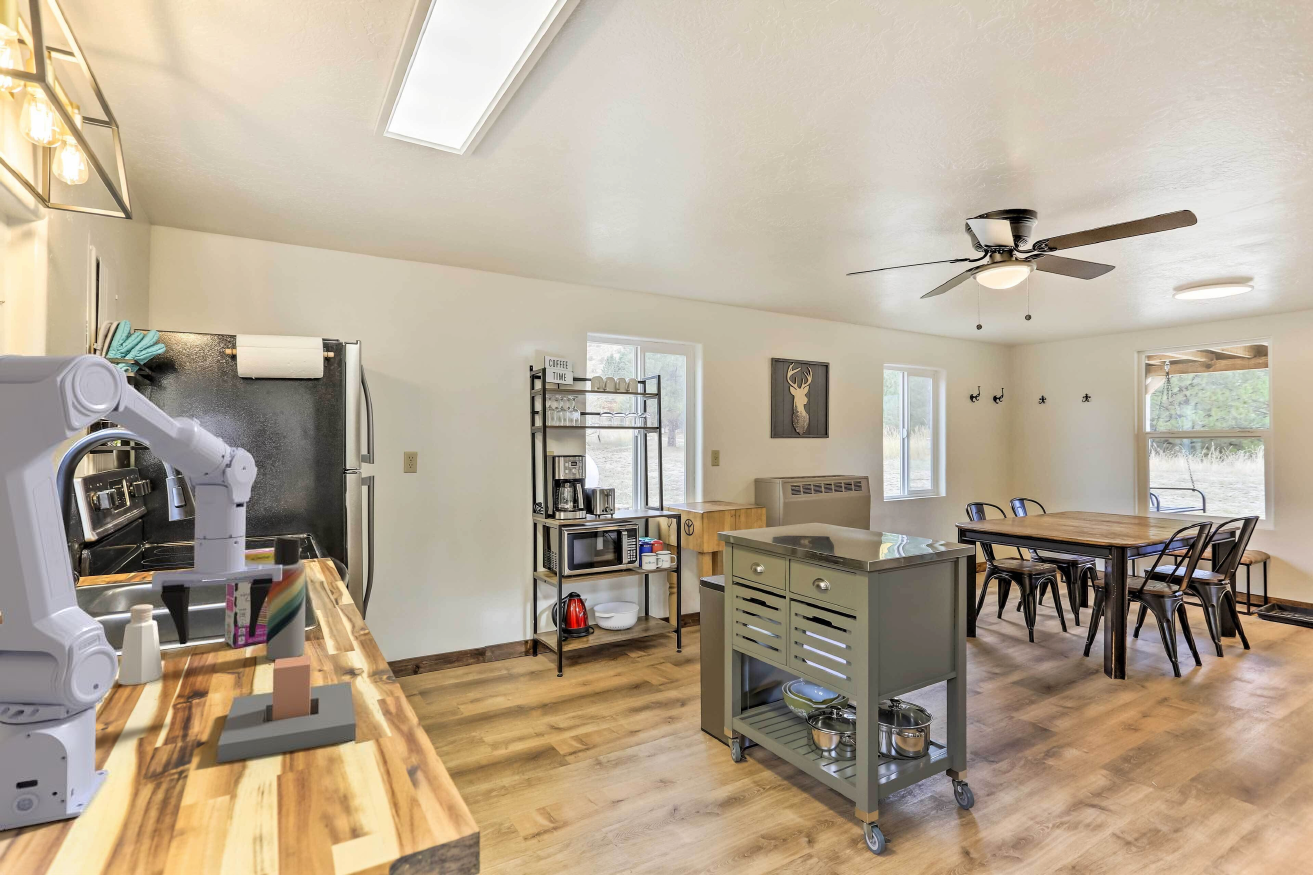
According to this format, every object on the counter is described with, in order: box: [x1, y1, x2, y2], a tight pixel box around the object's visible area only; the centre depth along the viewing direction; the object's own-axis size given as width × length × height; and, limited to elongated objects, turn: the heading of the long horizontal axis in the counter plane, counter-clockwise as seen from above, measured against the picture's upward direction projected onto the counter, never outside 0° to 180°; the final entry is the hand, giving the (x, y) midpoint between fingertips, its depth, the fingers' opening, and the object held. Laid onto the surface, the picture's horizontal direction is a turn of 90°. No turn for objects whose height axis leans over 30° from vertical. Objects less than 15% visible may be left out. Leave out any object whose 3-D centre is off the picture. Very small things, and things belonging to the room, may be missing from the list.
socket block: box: [217, 681, 357, 764], centre depth 86 cm, size 16×14×2 cm
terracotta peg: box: [272, 655, 312, 721], centre depth 86 cm, size 4×4×8 cm
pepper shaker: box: [117, 603, 164, 686], centre depth 102 cm, size 5×5×11 cm
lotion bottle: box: [265, 535, 307, 661], centre depth 114 cm, size 6×6×20 cm
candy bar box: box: [224, 547, 303, 649], centre depth 123 cm, size 11×5×16 cm, turn 141°
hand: (218, 638), depth 91 cm, fingers open, 7 cm apart
